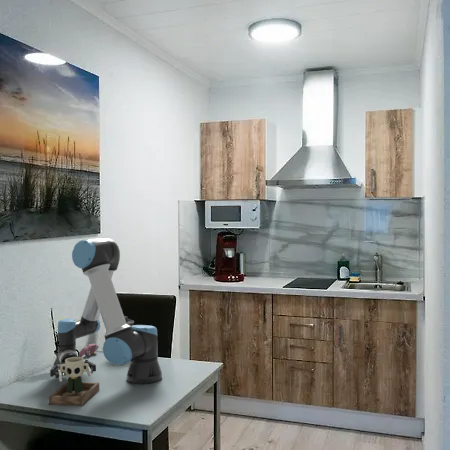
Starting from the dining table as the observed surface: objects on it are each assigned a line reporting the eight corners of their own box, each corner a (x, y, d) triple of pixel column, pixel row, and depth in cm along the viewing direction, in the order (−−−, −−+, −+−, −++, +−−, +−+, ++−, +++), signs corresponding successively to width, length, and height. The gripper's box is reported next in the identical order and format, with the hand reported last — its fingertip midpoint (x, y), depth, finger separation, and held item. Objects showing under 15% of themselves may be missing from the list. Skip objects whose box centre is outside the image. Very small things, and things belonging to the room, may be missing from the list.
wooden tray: (99, 389, 217) (99, 382, 217) (82, 405, 200) (82, 397, 200) (68, 388, 219) (68, 381, 219) (48, 404, 202) (48, 396, 202)
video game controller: (82, 360, 264) (87, 349, 263) (76, 355, 266) (81, 344, 265) (96, 355, 273) (101, 344, 271) (90, 350, 275) (95, 339, 273)
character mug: (58, 395, 205) (58, 362, 205) (62, 389, 212) (61, 357, 212) (87, 394, 206) (87, 361, 206) (90, 388, 214) (89, 356, 213)
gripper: (96, 366, 230) (105, 381, 210) (41, 373, 222) (44, 389, 201) (96, 349, 230) (105, 363, 210) (40, 355, 221) (44, 370, 201)
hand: (75, 376), depth 205 cm, fingers closed on character mug, 10 cm apart
